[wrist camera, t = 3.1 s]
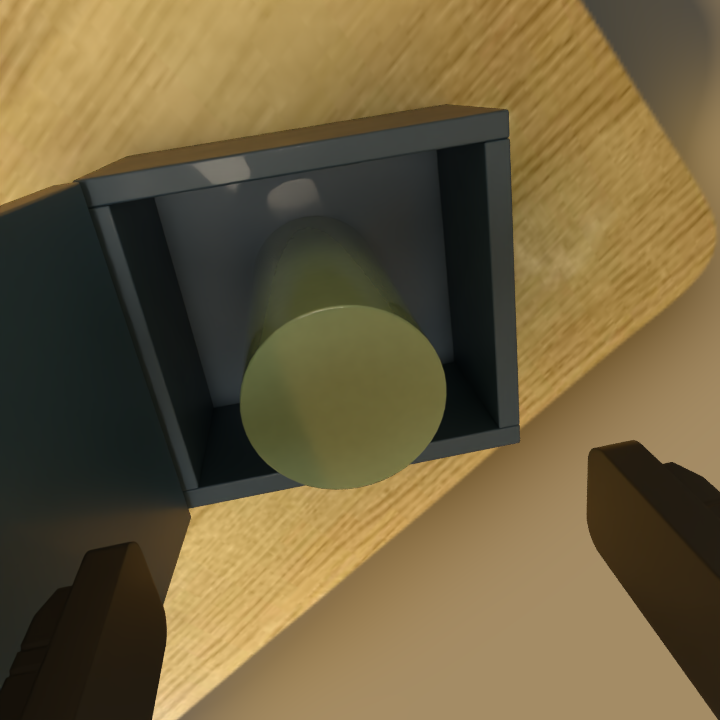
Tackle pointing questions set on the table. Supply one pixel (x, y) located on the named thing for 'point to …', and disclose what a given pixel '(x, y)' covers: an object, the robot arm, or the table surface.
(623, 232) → the table surface
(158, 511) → the lid
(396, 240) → the box
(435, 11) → the table surface
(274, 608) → the table surface
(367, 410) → the pale green cylinder
